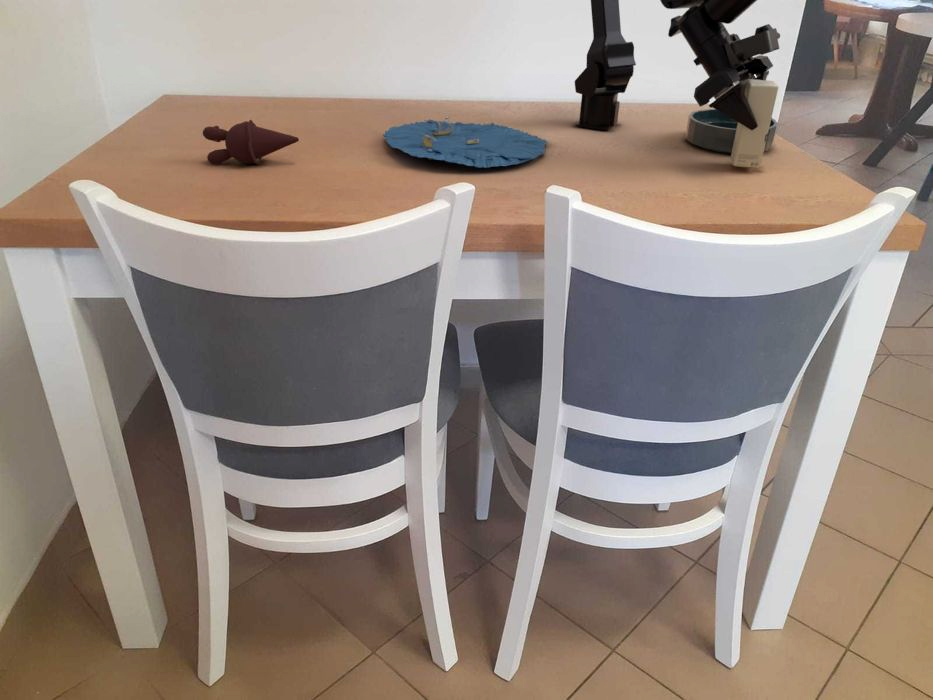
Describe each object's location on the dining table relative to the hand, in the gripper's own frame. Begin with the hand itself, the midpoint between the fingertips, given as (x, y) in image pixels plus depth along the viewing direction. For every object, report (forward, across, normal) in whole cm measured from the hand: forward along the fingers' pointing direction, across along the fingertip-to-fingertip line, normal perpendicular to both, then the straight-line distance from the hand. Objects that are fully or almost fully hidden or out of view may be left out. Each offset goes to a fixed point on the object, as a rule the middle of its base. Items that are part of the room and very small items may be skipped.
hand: (762, 124), depth 118 cm
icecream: (-39, -52, +50) cm, 82 cm away
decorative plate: (-25, -22, +36) cm, 50 cm away
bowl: (-1, +13, +12) cm, 17 cm away
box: (+4, 0, +6) cm, 7 cm away
